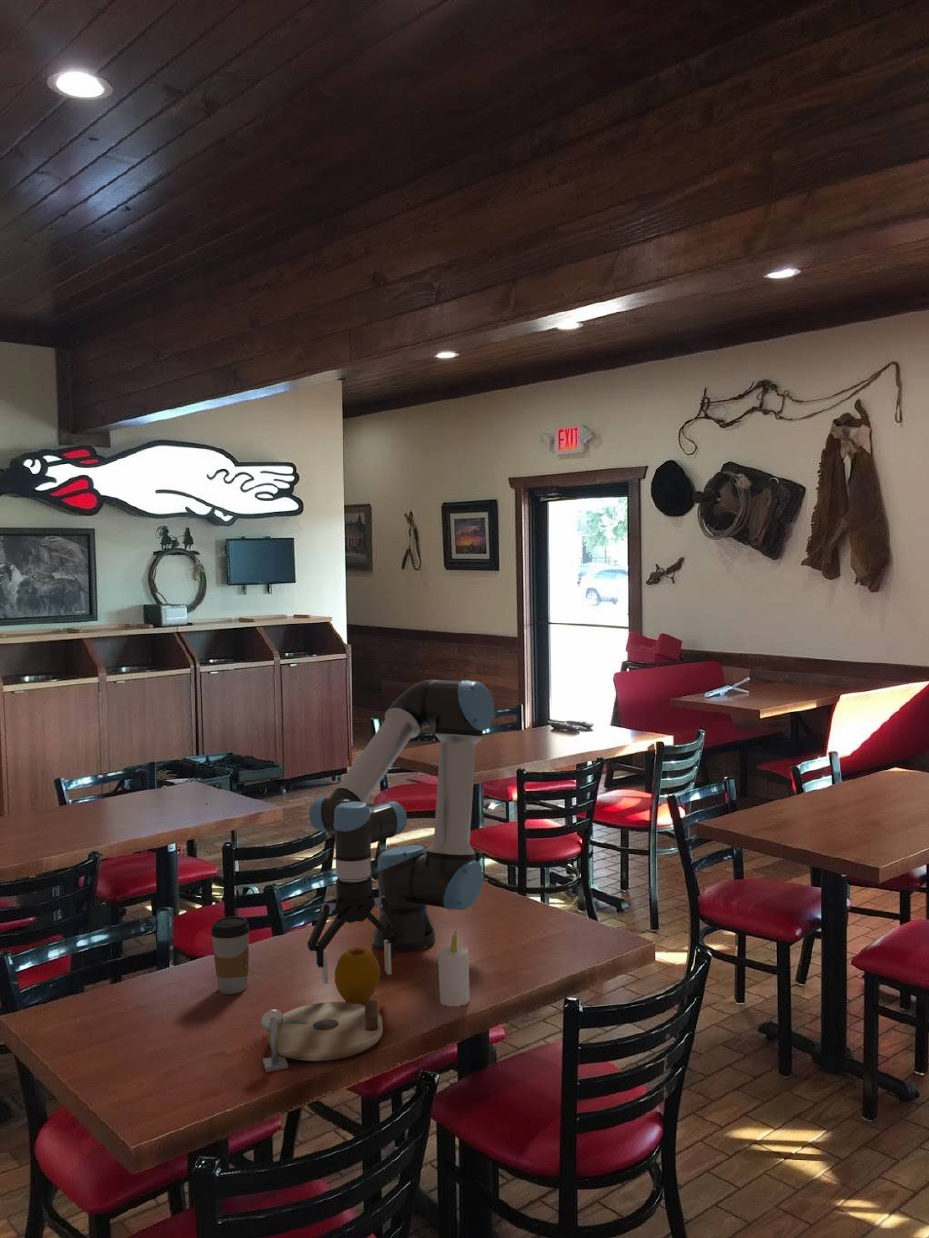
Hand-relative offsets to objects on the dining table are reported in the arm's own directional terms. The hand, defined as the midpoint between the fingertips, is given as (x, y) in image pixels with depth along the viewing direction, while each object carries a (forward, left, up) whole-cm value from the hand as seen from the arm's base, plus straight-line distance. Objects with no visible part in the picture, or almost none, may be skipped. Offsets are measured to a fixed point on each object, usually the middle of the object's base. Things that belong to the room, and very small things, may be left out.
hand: (356, 976), depth 223 cm
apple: (0, 0, -6) cm, 6 cm away
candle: (-19, +7, -6) cm, 21 cm away
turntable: (+10, +15, -6) cm, 19 cm away
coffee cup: (+24, -19, -6) cm, 31 cm away
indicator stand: (+21, +22, -6) cm, 31 cm away
